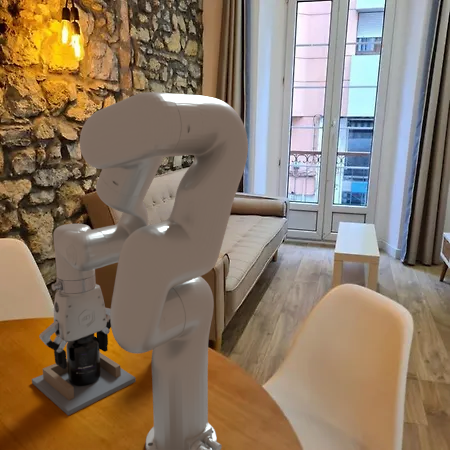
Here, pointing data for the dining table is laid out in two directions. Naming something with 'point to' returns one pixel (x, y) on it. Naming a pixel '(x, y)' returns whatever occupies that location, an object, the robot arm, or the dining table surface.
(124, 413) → the dining table surface
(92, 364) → the supplement bottle
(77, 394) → the bottle stand
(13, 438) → the dining table surface
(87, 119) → the robot arm
